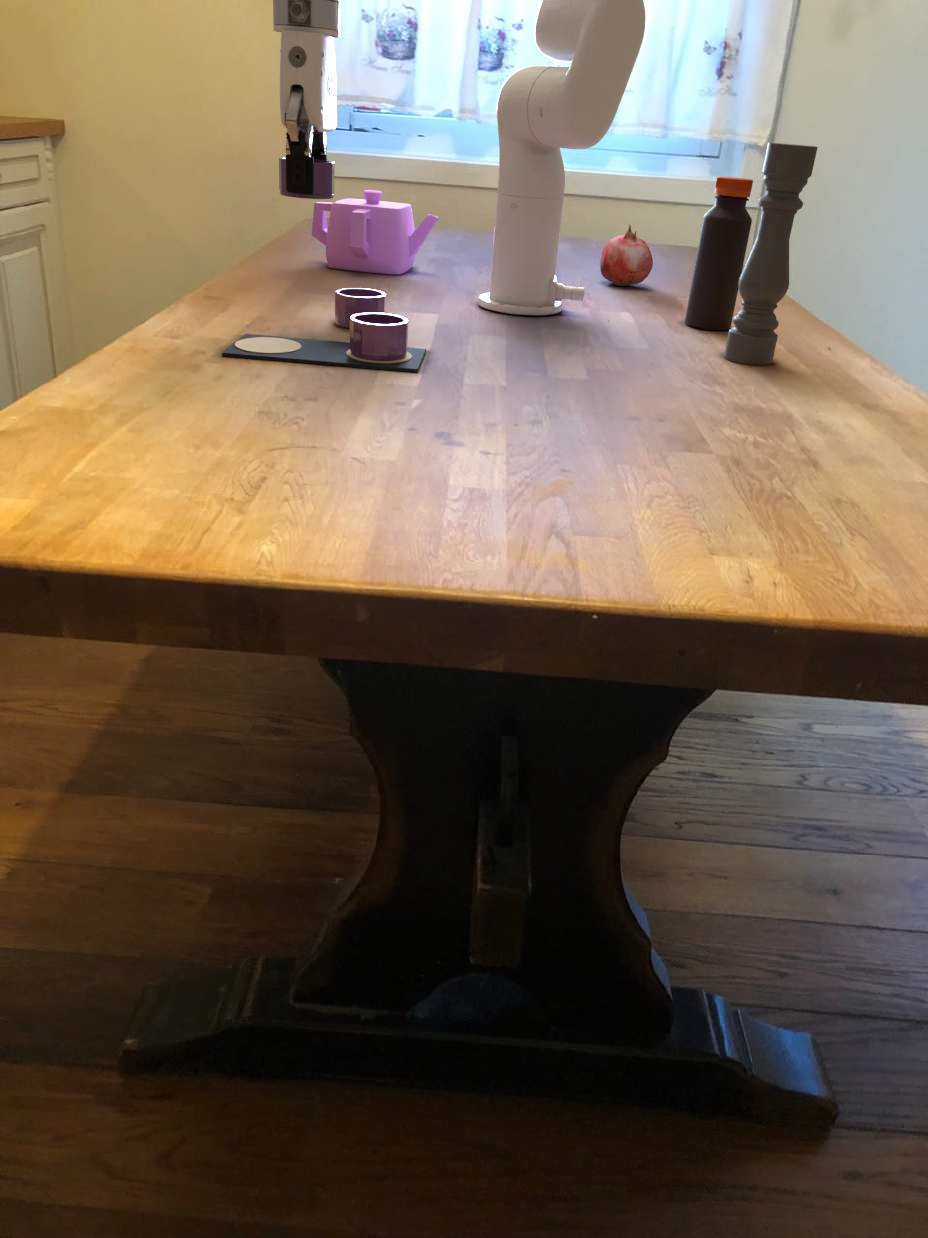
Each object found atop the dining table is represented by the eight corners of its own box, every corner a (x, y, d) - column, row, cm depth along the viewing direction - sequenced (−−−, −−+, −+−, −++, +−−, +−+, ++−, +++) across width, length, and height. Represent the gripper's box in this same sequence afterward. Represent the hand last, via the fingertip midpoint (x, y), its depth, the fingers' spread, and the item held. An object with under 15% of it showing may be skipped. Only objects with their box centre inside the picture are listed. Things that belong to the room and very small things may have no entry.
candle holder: (774, 367, 120) (823, 147, 108) (724, 361, 121) (767, 143, 109) (770, 356, 126) (816, 145, 114) (722, 351, 127) (763, 141, 115)
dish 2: (387, 320, 129) (388, 290, 127) (381, 331, 123) (381, 299, 121) (340, 317, 129) (340, 286, 127) (331, 327, 123) (331, 295, 121)
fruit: (610, 277, 175) (618, 219, 170) (657, 286, 170) (666, 226, 165) (586, 282, 168) (593, 221, 163) (634, 291, 164) (643, 229, 159)
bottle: (675, 323, 141) (701, 175, 131) (699, 319, 145) (725, 175, 136) (716, 333, 137) (745, 180, 127) (738, 327, 141) (769, 180, 132)
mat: (426, 352, 115) (426, 347, 114) (417, 372, 106) (417, 368, 106) (245, 336, 115) (245, 332, 115) (222, 356, 106) (221, 351, 106)
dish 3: (409, 349, 113) (410, 315, 111) (402, 363, 107) (404, 327, 105) (355, 345, 113) (355, 310, 111) (345, 358, 107) (346, 322, 105)
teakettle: (305, 260, 168) (304, 183, 162) (386, 257, 178) (388, 185, 172) (354, 277, 157) (356, 195, 151) (438, 273, 166) (443, 196, 160)
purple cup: (338, 196, 119) (338, 160, 118) (327, 200, 114) (327, 163, 112) (287, 191, 120) (286, 156, 118) (273, 195, 114) (273, 158, 112)
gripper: (323, 15, 100) (322, 199, 109) (353, 28, 115) (350, 188, 124) (253, 9, 100) (257, 193, 109) (292, 22, 116) (293, 183, 124)
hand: (307, 189), depth 116 cm, fingers closed on purple cup, 6 cm apart
